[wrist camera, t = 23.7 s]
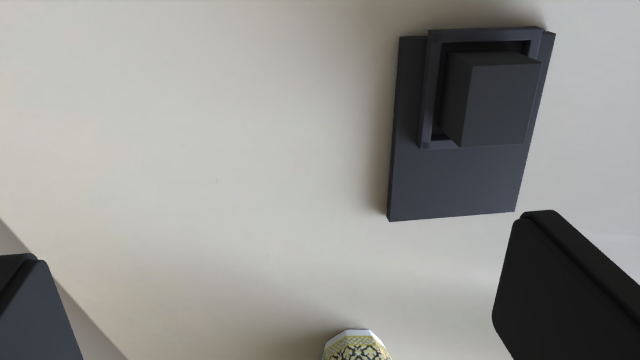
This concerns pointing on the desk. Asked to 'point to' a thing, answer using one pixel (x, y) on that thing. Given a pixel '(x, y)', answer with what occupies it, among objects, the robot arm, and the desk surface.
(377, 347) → the ceramic cup
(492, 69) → the dark grey block
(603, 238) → the desk surface
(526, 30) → the base pad
